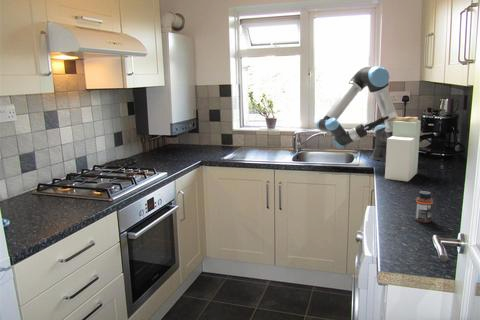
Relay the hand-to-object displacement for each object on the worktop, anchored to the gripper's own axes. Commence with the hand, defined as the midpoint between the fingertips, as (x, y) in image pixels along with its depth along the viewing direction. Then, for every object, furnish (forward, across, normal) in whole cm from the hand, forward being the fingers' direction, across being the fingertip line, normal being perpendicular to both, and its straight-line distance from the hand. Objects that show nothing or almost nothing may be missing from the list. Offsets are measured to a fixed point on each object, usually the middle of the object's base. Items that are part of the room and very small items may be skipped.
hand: (394, 114), depth 230 cm
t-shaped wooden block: (0, 0, -4) cm, 4 cm away
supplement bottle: (+10, +76, -45) cm, 89 cm away
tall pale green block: (-11, +6, -33) cm, 35 cm away
